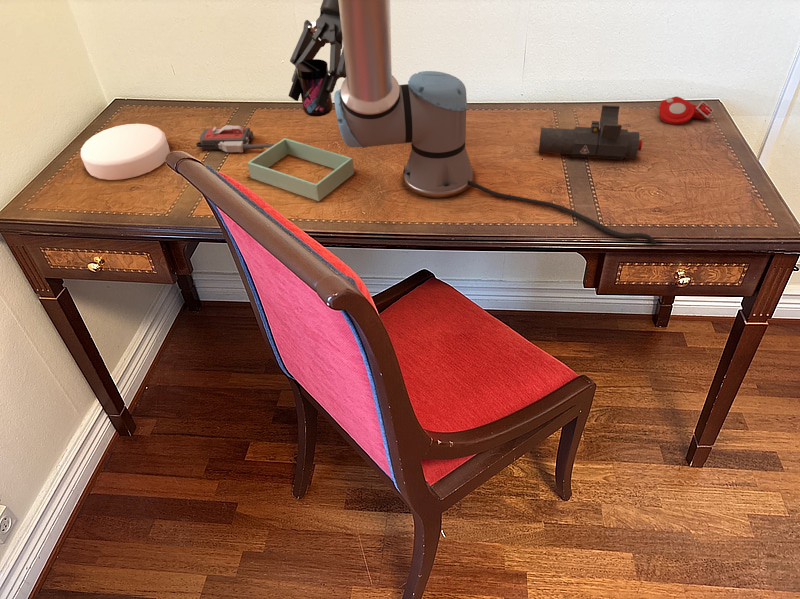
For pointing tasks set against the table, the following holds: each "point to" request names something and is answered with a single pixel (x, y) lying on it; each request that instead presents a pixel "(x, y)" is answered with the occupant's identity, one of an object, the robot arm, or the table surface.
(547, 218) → the table surface
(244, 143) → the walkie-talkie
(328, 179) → the rectangular frame
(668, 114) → the tracker holder
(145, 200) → the table surface
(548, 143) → the laser sight
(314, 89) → the supplement container
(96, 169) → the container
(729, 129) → the table surface
